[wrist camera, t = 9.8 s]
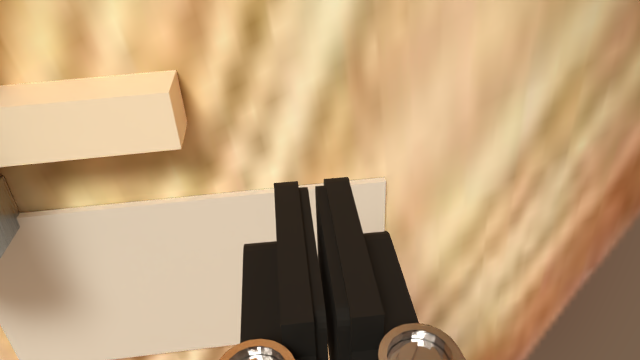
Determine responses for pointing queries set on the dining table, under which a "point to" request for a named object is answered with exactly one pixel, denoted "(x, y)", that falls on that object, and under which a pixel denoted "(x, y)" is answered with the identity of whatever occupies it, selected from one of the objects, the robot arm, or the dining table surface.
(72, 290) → the mat
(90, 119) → the cream rectangular bar
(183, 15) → the dining table surface
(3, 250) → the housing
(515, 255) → the dining table surface
